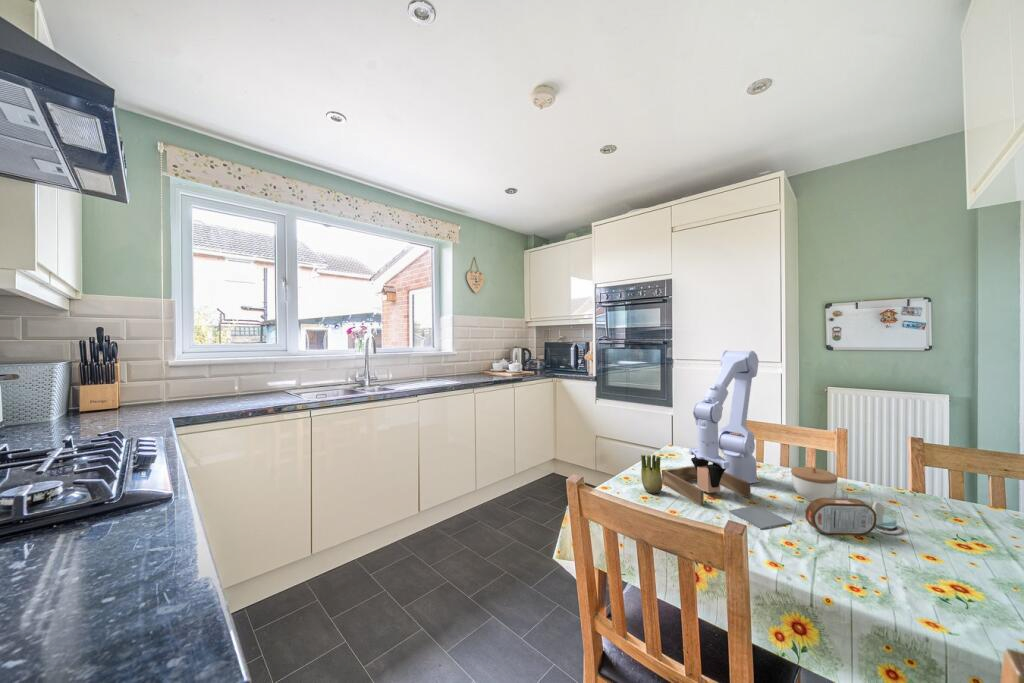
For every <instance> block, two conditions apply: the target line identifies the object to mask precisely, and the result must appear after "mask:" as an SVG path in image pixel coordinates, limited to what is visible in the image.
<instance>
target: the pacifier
mask: <svg viewBox="0 0 1024 683" xmlns="http://www.w3.org/2000/svg"><path fill="white" fill-rule="evenodd" d="M883 506H884V505H882V504H881V502H878V501H877V502H874V503H872V506H871V508H872V509H873V510H874V511H875V513H876V517H877V521H876V525H875V528H874V529H875V530H876V531H878V532H880V533H883V534H886V535H900V534H901V533H902V532H903V529H902V528H901V527H900V526H898V525H897V524H898V523H897V521H896V519H895V518H894V517H892V516H890V515H887V514H885V510H884V509H885V508H884V507H883ZM889 529H894V530H889Z"/></svg>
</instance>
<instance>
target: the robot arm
mask: <svg viewBox="0 0 1024 683" xmlns="http://www.w3.org/2000/svg"><path fill="white" fill-rule="evenodd" d="M719 360H720V362H719V363H720V366H721V367H720V369H719V372H718V375H717V377H716V380H715V383H713V384H710V385H709V386H708V388H707V390H706V392H705V393H704V396H703V398H702V400H701V401H700V402H698V403H696V404H694V407H693V411H692V415H693V418H694V420H695V421H694V422H695V425H696V426H697V448H696V447H691V448H690V447H689V450H688V452H689V455H691V456H693V457H691V459H690V461H691V463H692V464H693V466H695V468H696V471H697V467H700V466H707V468H708V470H709V473H710V480H711V486H712V487H713V488H715V487H719V483H720V480H721V477H722V475H723V473H724V472H726V473H728V474H731V475H733V476H735V477H737V478H740V479H742V480H744V481H747V482H749V483H750V484H755V483H760V480H759V479H757V478H758V474H757V472H758V471H757V469H758V468H757V461H756V458H755V456H754V455H753V453H754V452H755V450H756V449H755V448H756V446H755V445H756V444H755V434H754V433H753V432H752V431H751V429H749V428H748V427H747V419H748V412H749V404H750V396H751V391H752V390H751V388H752V383H753V382H752V381H753V380H752V379H753V378H755V377H757V374H758V371H759V364H760V363H759V362H760V361H759V358H758V354H757V353H756V352H755V351H754V350H750V351H749V350H748V351H747V350H746V351H745V350H724V351H722V353H721V355H720V359H719ZM733 379H734V382H733V383H734V384H733V391H732V398H731V404H730V414H729V421H728V423H727V424H726V425H724V426H722V427H720V431H719V422H720V421H721V420H722V417H723V410H724V406H723V405H724V403H725V401H726V399H727V398H728V395H729V391H728V387H729V385H730V384H731V382H732V381H733ZM719 450H720V452H721V453H723V457H722V456H721V455H720V454H719ZM709 463H710V464H709Z"/></svg>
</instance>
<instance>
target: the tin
mask: <svg viewBox="0 0 1024 683" xmlns="http://www.w3.org/2000/svg"><path fill="white" fill-rule="evenodd" d="M805 518H806V522H808V524H809V525H810V526H811V527H812V528H814V529H815V530H817V531H818V532H820V533H821V534H824V535H834V536H835V535H839V536H840V535H841V536H842V535H843V536H865V535H868V534H869V533H871V532H872V531H873V530H874V529H875V525H876V521H877V517H876V513H875V511H874V510H873V509H872V506H869V505H868V504H867V503H865V502H864V501H863V500H861V499H857V498H843V497H842V498H841V497H840V498H839V497H838V498H837V497H835V498H834V497H833V498H818V499H815V500H814V501H812V502H811V501H810V503H808V505H807V506H806V508H805Z"/></svg>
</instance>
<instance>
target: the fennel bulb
mask: <svg viewBox="0 0 1024 683" xmlns="http://www.w3.org/2000/svg"><path fill="white" fill-rule="evenodd" d="M640 460H641V472H640V473H641V474H640V475H641V476H640V477H641V478H640V479H641V484H642V486H643V489H644V490H645V491H646V492H647V493H649V494H653V495H655V494H658V493H660V492H661V491H662V489H663V484H662V471H661V456H659V455H656V454H653V453H652V455H651V454H644V453H642V454H640Z"/></svg>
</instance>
